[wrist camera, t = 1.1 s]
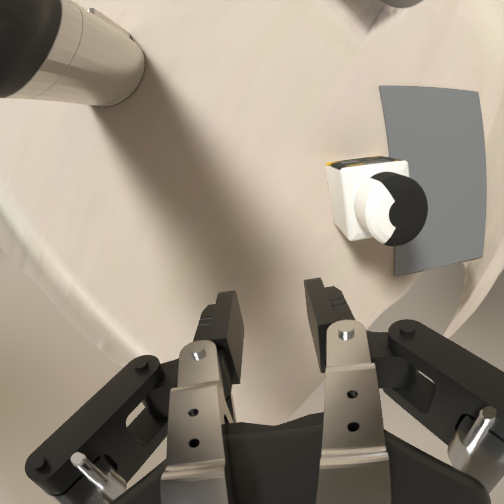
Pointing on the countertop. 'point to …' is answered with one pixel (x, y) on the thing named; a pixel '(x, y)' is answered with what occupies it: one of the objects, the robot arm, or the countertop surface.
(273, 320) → the countertop surface
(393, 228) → the medicine bottle
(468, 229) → the rubber mat
